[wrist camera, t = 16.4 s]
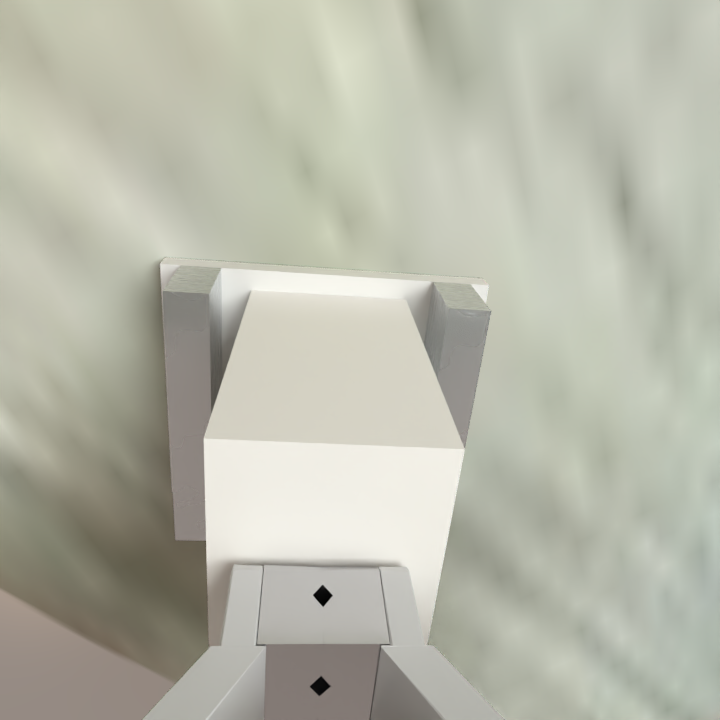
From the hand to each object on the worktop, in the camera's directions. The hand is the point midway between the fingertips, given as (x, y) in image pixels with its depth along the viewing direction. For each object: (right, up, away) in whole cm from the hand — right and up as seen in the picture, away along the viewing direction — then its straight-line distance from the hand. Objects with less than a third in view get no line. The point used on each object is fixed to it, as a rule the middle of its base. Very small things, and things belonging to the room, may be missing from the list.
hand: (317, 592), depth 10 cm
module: (0, +3, +6) cm, 7 cm away
